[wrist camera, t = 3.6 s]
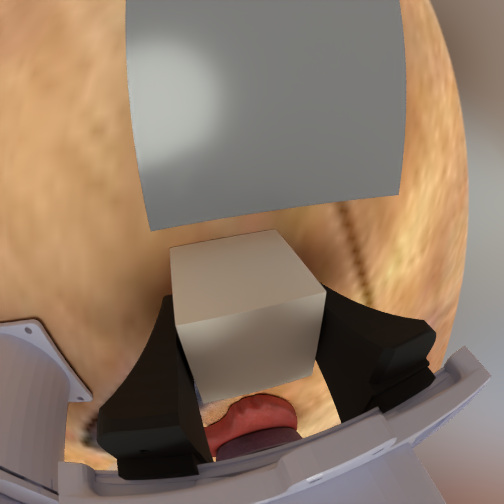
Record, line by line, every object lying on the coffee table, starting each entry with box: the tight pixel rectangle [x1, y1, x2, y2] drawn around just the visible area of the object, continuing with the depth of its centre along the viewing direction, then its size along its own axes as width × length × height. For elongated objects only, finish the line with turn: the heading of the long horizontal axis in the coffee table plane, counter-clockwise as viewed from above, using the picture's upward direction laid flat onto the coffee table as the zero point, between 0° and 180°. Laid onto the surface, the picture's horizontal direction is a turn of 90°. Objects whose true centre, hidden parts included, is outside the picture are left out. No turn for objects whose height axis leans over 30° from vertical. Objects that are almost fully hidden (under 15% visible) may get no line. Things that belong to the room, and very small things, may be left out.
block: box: [170, 229, 326, 403], centre depth 12 cm, size 5×5×5 cm
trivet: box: [126, 0, 406, 231], centre depth 9 cm, size 12×12×1 cm
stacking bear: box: [204, 395, 303, 462], centre depth 16 cm, size 11×10×18 cm
